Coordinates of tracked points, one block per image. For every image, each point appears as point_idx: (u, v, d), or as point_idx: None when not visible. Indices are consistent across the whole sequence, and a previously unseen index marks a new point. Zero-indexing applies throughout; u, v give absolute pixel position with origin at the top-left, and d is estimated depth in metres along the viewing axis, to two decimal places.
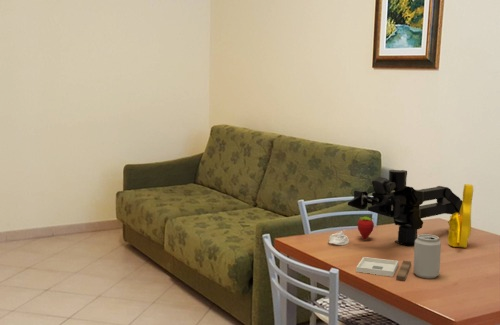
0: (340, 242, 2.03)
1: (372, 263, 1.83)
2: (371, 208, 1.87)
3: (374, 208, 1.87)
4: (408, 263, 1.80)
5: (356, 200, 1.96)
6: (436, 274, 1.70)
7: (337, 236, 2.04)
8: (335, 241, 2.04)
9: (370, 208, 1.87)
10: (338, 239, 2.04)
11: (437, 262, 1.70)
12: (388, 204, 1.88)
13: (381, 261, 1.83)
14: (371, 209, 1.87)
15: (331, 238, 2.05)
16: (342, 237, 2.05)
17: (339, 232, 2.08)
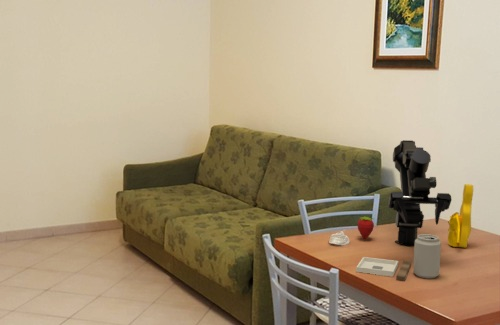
0: (341, 242, 2.03)
1: (372, 263, 1.83)
2: None
3: None
4: (408, 263, 1.80)
5: None
6: (436, 274, 1.70)
7: (338, 236, 2.04)
8: (336, 241, 2.03)
9: (437, 222, 1.79)
10: (339, 239, 2.04)
11: (437, 262, 1.70)
12: (444, 204, 1.82)
13: (381, 261, 1.83)
14: None
15: (332, 238, 2.05)
16: (343, 237, 2.05)
17: (340, 232, 2.08)
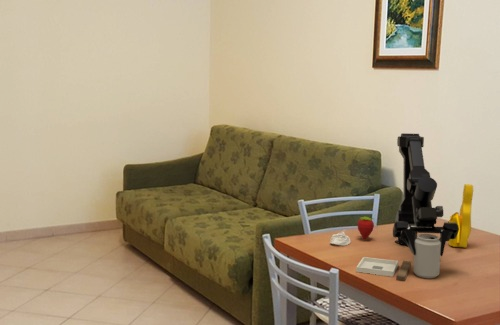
0: (341, 242, 2.03)
1: (372, 263, 1.83)
2: None
3: (443, 249, 1.72)
4: (408, 263, 1.80)
5: None
6: (436, 274, 1.70)
7: (339, 236, 2.04)
8: (336, 241, 2.03)
9: None
10: (339, 239, 2.04)
11: (437, 262, 1.70)
12: (449, 234, 1.73)
13: (381, 261, 1.83)
14: (442, 252, 1.72)
15: (332, 238, 2.05)
16: (344, 237, 2.05)
17: (341, 232, 2.08)
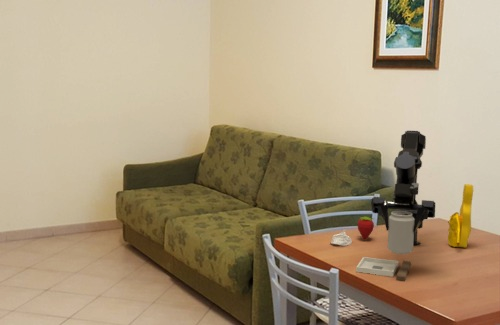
0: (343, 242, 2.03)
1: (372, 263, 1.83)
2: (416, 229, 1.72)
3: (417, 226, 1.72)
4: (408, 263, 1.80)
5: None
6: (407, 250, 1.71)
7: (340, 236, 2.04)
8: (338, 241, 2.03)
9: None
10: (341, 239, 2.03)
11: (408, 238, 1.71)
12: (425, 212, 1.73)
13: (381, 261, 1.83)
14: (416, 229, 1.72)
15: (334, 238, 2.04)
16: (345, 238, 2.04)
17: (342, 233, 2.07)
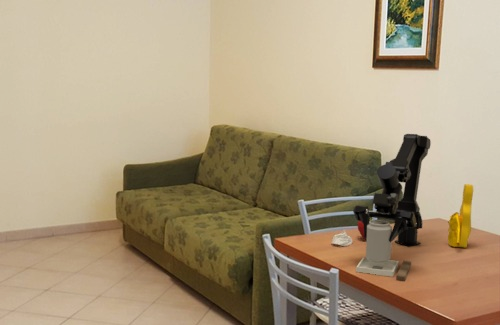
0: (343, 243, 2.03)
1: (372, 263, 1.83)
2: (392, 238, 1.75)
3: (394, 236, 1.75)
4: (408, 263, 1.80)
5: None
6: (382, 259, 1.75)
7: (340, 237, 2.04)
8: (338, 242, 2.03)
9: (391, 239, 1.75)
10: (341, 240, 2.03)
11: (383, 247, 1.74)
12: (403, 222, 1.75)
13: None
14: (392, 239, 1.75)
15: (334, 239, 2.04)
16: (345, 238, 2.04)
17: (342, 233, 2.07)
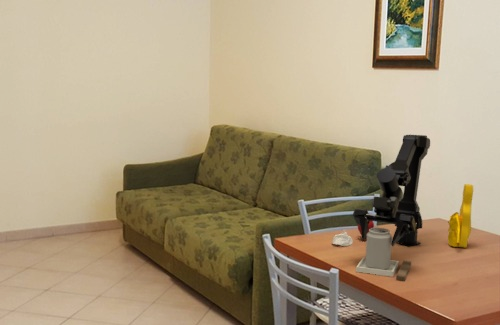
0: (344, 243, 2.02)
1: None
2: (394, 242, 1.74)
3: (396, 240, 1.75)
4: (408, 263, 1.80)
5: (365, 228, 1.80)
6: (382, 267, 1.75)
7: (341, 237, 2.03)
8: (339, 242, 2.03)
9: (393, 243, 1.74)
10: (342, 240, 2.03)
11: (383, 255, 1.75)
12: (405, 226, 1.75)
13: None
14: (394, 242, 1.75)
15: (335, 239, 2.04)
16: (346, 238, 2.04)
17: (343, 233, 2.07)
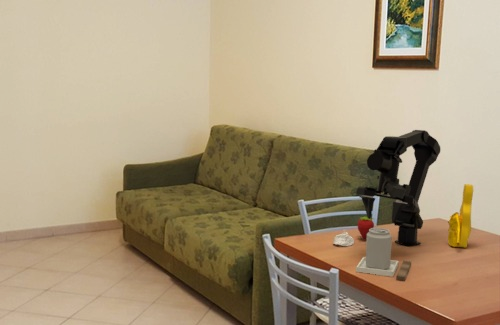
0: (345, 243, 2.02)
1: None
2: None
3: None
4: (408, 263, 1.80)
5: None
6: (382, 267, 1.75)
7: (342, 237, 2.03)
8: (340, 242, 2.02)
9: None
10: (343, 240, 2.03)
11: (383, 255, 1.75)
12: None
13: None
14: None
15: (336, 239, 2.04)
16: (347, 238, 2.04)
17: (344, 233, 2.07)
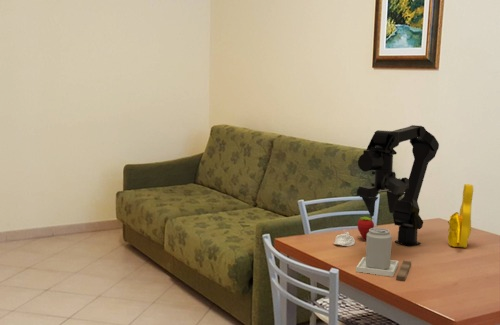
0: (346, 243, 2.02)
1: None
2: None
3: None
4: (408, 263, 1.80)
5: None
6: (382, 267, 1.75)
7: (343, 237, 2.03)
8: (341, 242, 2.02)
9: None
10: (344, 240, 2.03)
11: (383, 255, 1.75)
12: None
13: None
14: None
15: (337, 239, 2.04)
16: (348, 238, 2.04)
17: (345, 233, 2.07)
